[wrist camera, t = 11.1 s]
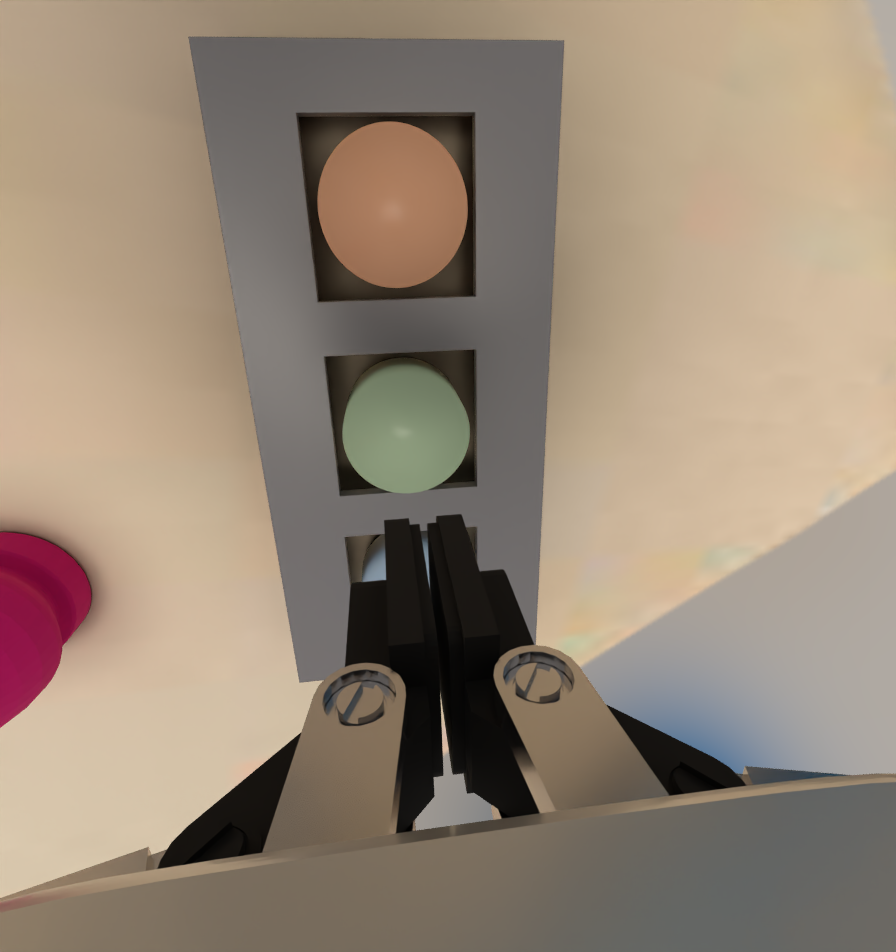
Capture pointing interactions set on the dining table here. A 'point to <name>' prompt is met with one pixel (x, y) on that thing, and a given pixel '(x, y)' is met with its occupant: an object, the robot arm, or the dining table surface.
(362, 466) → the sage button
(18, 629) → the pepper mill
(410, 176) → the terracotta button
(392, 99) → the button panel
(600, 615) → the dining table surface
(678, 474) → the dining table surface
